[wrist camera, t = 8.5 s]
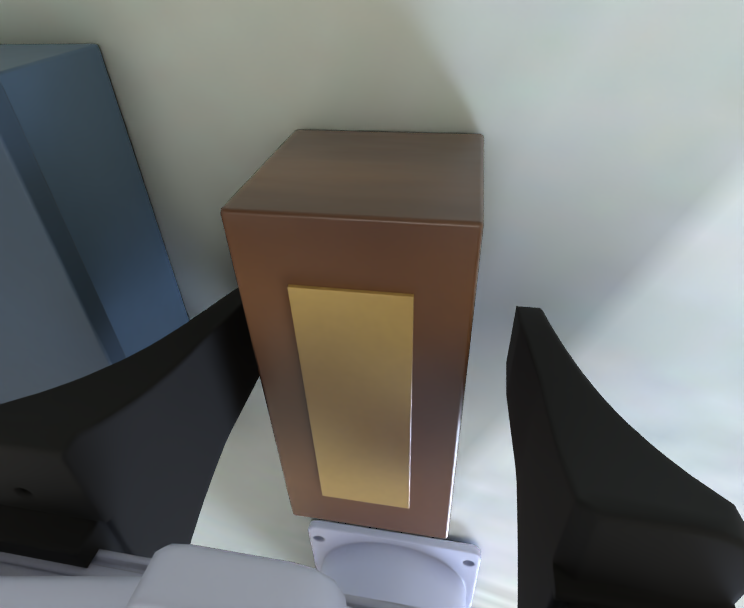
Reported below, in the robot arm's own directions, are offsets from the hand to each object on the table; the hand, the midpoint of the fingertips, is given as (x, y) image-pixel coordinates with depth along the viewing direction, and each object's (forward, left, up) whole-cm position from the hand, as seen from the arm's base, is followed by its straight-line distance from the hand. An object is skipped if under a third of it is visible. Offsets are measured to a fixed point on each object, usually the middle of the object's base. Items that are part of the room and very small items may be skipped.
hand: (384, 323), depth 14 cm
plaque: (0, 0, -1) cm, 1 cm away
